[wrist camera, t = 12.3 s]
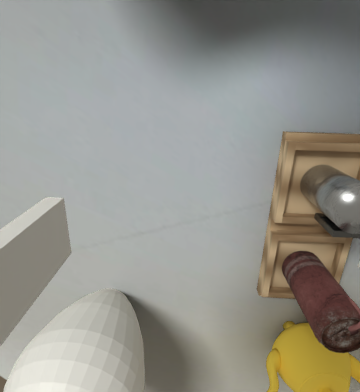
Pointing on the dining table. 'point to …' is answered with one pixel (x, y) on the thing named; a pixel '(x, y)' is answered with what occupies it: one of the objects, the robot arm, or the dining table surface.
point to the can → (323, 302)
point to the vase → (85, 350)
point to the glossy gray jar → (334, 200)
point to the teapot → (308, 363)
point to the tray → (304, 207)
